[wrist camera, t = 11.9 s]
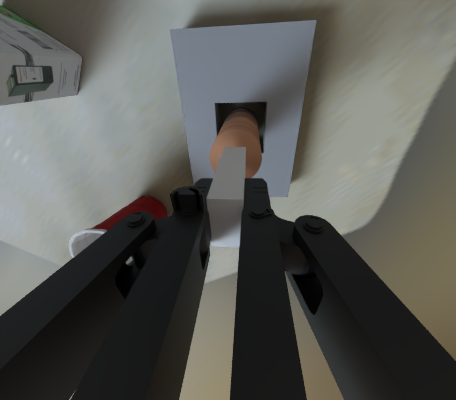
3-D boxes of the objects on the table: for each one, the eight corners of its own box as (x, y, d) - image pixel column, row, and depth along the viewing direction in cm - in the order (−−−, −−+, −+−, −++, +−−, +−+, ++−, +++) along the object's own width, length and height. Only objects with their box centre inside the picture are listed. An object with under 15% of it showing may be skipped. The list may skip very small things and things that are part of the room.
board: (179, 34, 20) (170, 29, 18) (307, 26, 19) (316, 19, 17) (199, 185, 30) (195, 195, 28) (284, 186, 29) (288, 197, 26)
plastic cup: (126, 169, 30) (65, 218, 20) (189, 201, 32) (163, 259, 22) (113, 215, 36) (60, 271, 26) (168, 240, 38) (139, 300, 28)
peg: (224, 106, 24) (206, 131, 14) (258, 105, 23) (264, 131, 13) (226, 140, 26) (210, 182, 16) (256, 140, 26) (260, 183, 16)
